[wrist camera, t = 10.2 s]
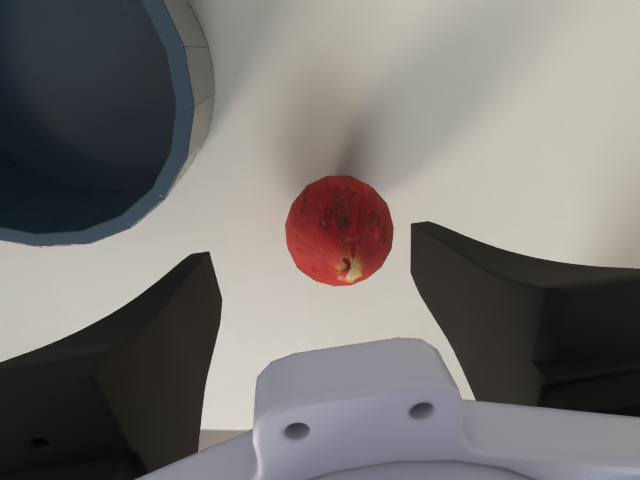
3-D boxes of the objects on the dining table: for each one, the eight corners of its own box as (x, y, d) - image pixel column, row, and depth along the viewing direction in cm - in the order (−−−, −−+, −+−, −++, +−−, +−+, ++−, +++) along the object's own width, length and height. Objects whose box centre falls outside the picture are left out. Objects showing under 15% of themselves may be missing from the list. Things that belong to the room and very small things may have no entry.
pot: (151, 237, 23) (114, 292, 18) (-106, 113, 19) (-255, 138, 14) (261, 36, 19) (256, 31, 14) (-37, -185, 15) (-214, -318, 9)
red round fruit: (282, 161, 22) (284, 214, 15) (377, 158, 23) (424, 208, 16) (286, 249, 25) (290, 328, 18) (372, 244, 25) (410, 320, 18)
